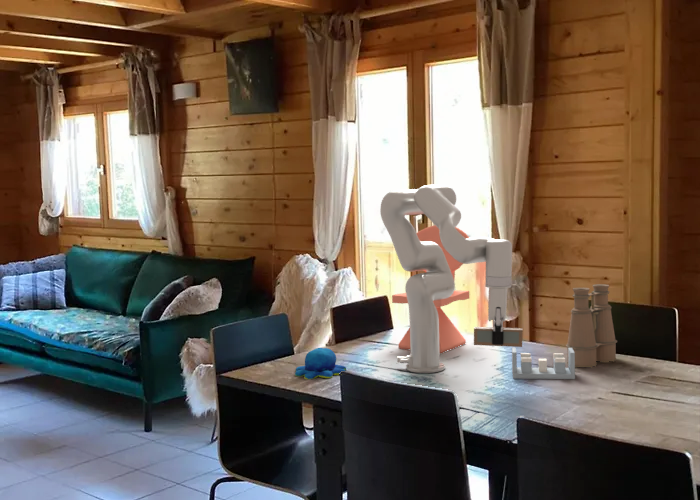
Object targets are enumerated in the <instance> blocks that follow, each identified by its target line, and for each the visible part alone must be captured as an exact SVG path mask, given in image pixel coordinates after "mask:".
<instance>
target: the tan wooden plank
mask: <svg viewBox="0 0 700 500" xmlns="http://www.w3.org/2000/svg"><path fill="white" fill-rule="evenodd" d="M492 331H493V326H492V327H490V326H489V327H488V326H474V327H473V345H474V346H487V347H488V346H489V347H492V346H493V347H511V348H523V328H520V327H503V331H504V333H503V345H493V344H492Z"/></svg>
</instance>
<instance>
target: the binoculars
mask: <svg viewBox="0 0 700 500" xmlns="http://www.w3.org/2000/svg"><path fill="white" fill-rule="evenodd" d="M592 288H593V291H591V292H590V289H591V288H589V287H573V288H572V291H573V294H572V297H573V298H574V299H573V303H574V304H573V305H574V306H573V308H572V309H571V310H570V313H571V314H570V321H569V329H568V335H567V336H568V338H567V343H566V344H565V347H566V348H567V351H566V352H567V353H566V354H567V358H568V348H572V349H573V351H574V353H575V368H577V367H591V368H593V367H592V366H595V367H597V366H598V365H597V364H598V362H596V361H600V362H599V363H610V362H609V361H613V362H615V361H617V356H616V353H617V352H616V347H617V346H616V343H618V340H617V339H616V335H615V329H614V323H613V316H612V306H611V304H609V294H610V291H609V288H610V285H609V284H605V283H604V284H603V283H598V284H597V283H596V284H592ZM589 292H590V293H589ZM590 297H591V298H590ZM589 298H590V299H591V306H590V307H589ZM614 360H615V361H614ZM601 361H602V362H601ZM566 364H568V361H567V362H566ZM596 365H597V366H596Z"/></svg>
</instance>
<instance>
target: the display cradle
mask: <svg viewBox="0 0 700 500" xmlns="http://www.w3.org/2000/svg"><path fill="white" fill-rule="evenodd" d="M552 354H553V357H552V358H553V367H548V360H547V358H537V359H538V360H537V361H538V363H537V364H538V367H533V366H532V364H533V362H532V361H533V359H532V357H531V355H532V354H531V352H530V353H528V352H525V353H523V352H520V367H519V366H518V367H517V365H518V361H517V347H511V370H512V372H511V373H512V379H525V380H526V379H530V380H531V379H533V380H534V379H538V380H543V379H544V380H575V379H576V370H575V369H576V367H575V353H574V351H573V349H572V348H568V357H567V362H568V365H567V366H568V367H566V357H564V355H565V354H564V353H563V352H562V353H561V352H560V353H556V352H555V353H552Z"/></svg>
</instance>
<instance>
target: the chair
mask: <svg viewBox="0 0 700 500" xmlns="http://www.w3.org/2000/svg"><path fill="white" fill-rule="evenodd" d="M455 228H456V230H457V231H458V232H459V233H460V234H461V235H462V236H463V237H464V238H470V236H468V234H467V233H466V232H465V231H463V230H462V229H460V228H459V227H458V226H456V227H455ZM439 231H440V230H439V229H438V227H437V226H436V225H435V224H433V225H430V226H427V227H425V228H423V229H420V230H419V231H417V232H416V234H417V236H418V238H419V240H420V241H421V242H426V241H430V242H434V243H436V244H438V245H439V246H440V248H441V249H442V251H443V253H444V255H445V258H446V260H447V263H448V265H449V268H450V270H451V273H452V276H453V279H454V281H455V280H456V279H455V275H456V271H457V270H459V269H460V268H461V266H463V265H464V264H463V263H460V262H458V261H457V260H456V259H454V258H453V257H452V256H451V255H450V254H449V253H448V252H447V251H446V249H445V248H444V247H443V245H442V243H441V239H440V235H439ZM422 271H423V272H424V273H426V270H422ZM468 299H470V291H469V290H461V289H460V290H456V289H455V290H454V292H453V294H452V295H451V296H450V297H448V298H446V299H441V300H435V301H433V303H434V305H435V307H436V309H437V311H438V316H439V348H440V354H441V353H442V354H444V353H446V352H445V351H447V350H449V351H451V350H450V349H452V350H454V349H456V348H455V347H457V348H459V347H458V346H460V345H462V346H464V345H463V344H465V343H467V341H466V339H465V337H464V335H462V334H461V332H460V331H459V330H458V328H457V327H456V326H455V324H454V323H453V322H452V321H451V320H450V318H449V317H448V315H446V313H445V312H444V310H443V309H442V308H441V307H446V306H447V305H450V304H451V303H453V302H458V301H465V300H468ZM391 302H392V304H402V305H403V304H408V300H407V295H406V292H404V293H396V294H392V296H391ZM397 345H398V349H399V350H407V349H410V350H409V351H411V348H410V327H409V328H408V329H407V331H406V332H405V334H404V336H403V337H402V338H401V340H400V341H399V342H398V344H397ZM465 345H466V344H465ZM460 347H461V346H460ZM453 348H454V349H453ZM443 352H444V353H443ZM447 352H448V351H447Z"/></svg>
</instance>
